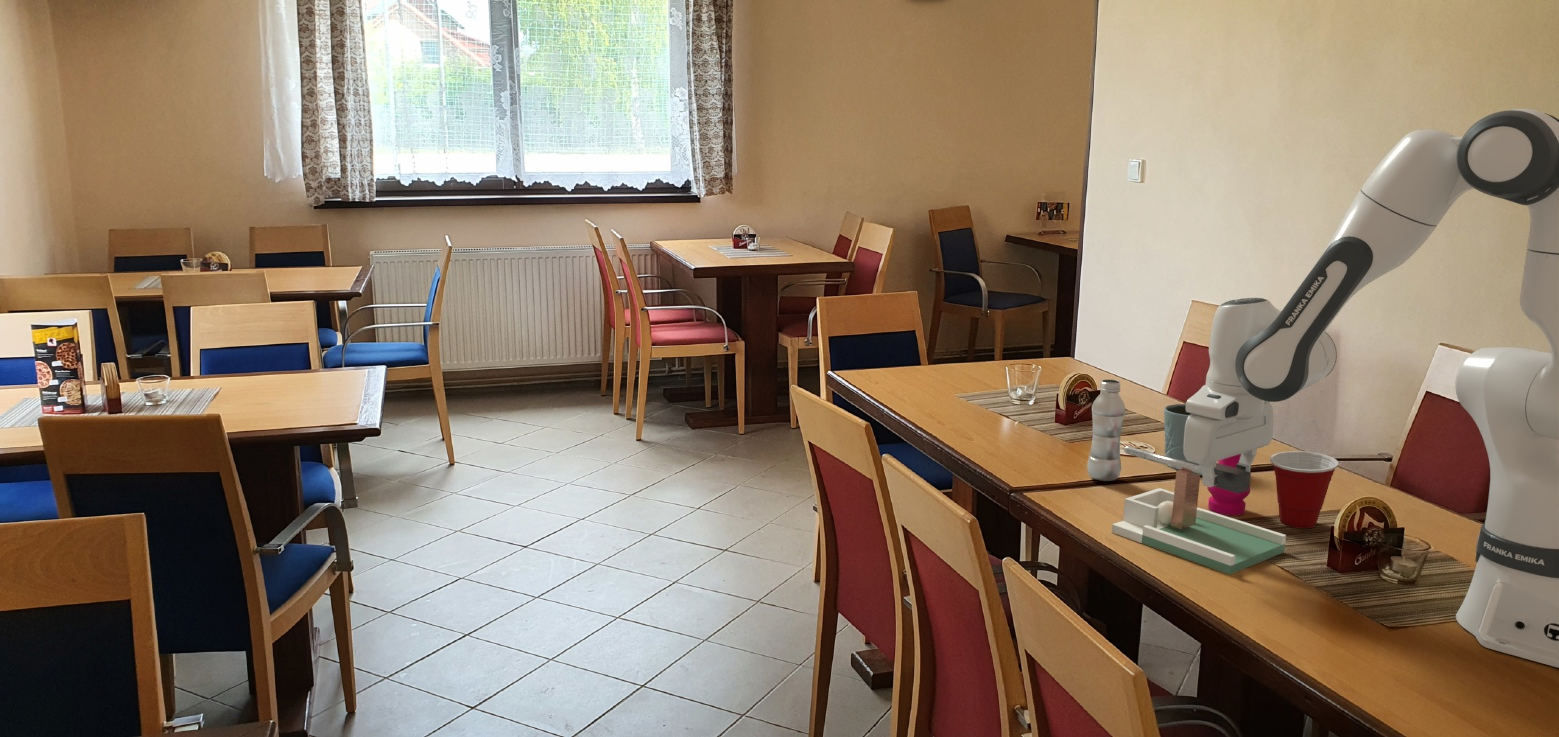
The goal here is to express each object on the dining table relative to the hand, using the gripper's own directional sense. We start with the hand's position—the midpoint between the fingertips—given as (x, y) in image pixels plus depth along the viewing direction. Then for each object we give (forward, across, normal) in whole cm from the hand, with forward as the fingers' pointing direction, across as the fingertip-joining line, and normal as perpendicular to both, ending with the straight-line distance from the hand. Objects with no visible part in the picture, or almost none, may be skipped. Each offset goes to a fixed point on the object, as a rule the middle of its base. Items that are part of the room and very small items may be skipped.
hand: (1226, 480), depth 174 cm
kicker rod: (+10, 0, -8) cm, 13 cm away
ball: (+8, 0, -10) cm, 13 cm away
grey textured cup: (+12, -36, -30) cm, 49 cm away
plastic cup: (+12, -23, +1) cm, 26 cm away
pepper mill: (+12, -19, -10) cm, 25 cm away
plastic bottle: (+12, -14, -34) cm, 39 cm away
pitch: (+12, 0, -4) cm, 13 cm away
